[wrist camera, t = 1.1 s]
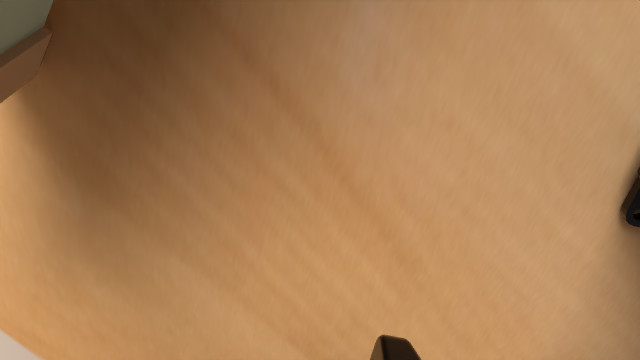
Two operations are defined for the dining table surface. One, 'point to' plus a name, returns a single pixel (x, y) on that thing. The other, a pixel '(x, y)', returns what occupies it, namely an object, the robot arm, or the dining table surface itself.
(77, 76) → the dining table surface
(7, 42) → the gate
